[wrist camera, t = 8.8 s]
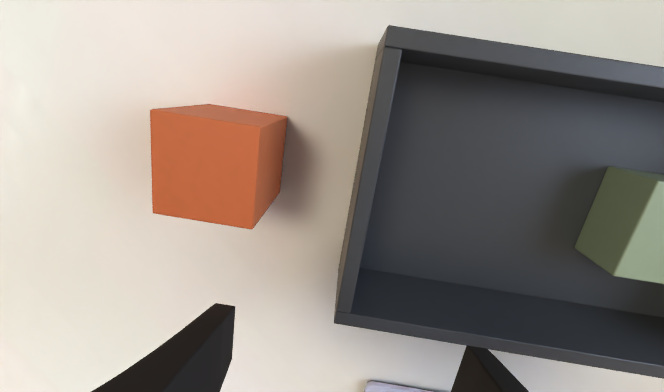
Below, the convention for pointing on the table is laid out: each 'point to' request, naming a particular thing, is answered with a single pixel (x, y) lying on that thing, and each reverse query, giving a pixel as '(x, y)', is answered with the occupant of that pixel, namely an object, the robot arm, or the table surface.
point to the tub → (499, 200)
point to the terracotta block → (216, 163)
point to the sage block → (627, 225)
